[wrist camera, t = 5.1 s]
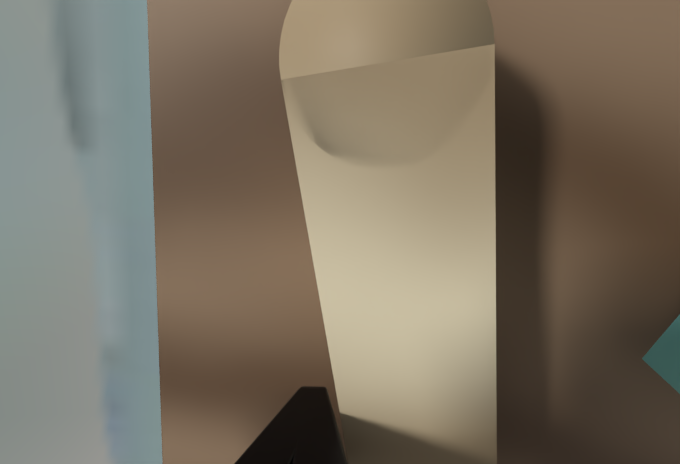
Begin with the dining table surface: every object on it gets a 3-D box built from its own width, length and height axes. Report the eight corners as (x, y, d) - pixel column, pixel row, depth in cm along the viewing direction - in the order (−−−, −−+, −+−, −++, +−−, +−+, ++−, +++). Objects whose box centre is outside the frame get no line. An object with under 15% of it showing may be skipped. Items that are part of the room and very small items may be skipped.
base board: (630, 670, 14) (648, 709, 13) (180, 571, 15) (167, 601, 14) (1106, 70, 7) (1221, 63, 6) (172, -54, 8) (144, -78, 7)
